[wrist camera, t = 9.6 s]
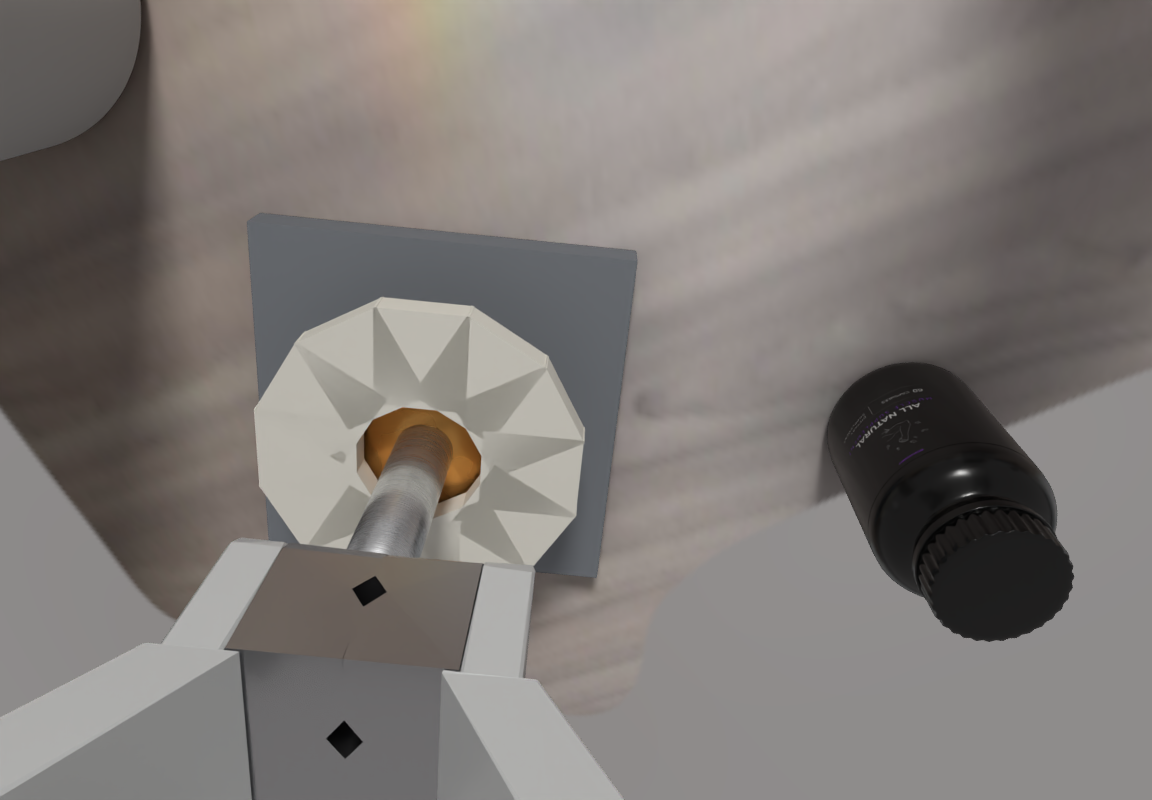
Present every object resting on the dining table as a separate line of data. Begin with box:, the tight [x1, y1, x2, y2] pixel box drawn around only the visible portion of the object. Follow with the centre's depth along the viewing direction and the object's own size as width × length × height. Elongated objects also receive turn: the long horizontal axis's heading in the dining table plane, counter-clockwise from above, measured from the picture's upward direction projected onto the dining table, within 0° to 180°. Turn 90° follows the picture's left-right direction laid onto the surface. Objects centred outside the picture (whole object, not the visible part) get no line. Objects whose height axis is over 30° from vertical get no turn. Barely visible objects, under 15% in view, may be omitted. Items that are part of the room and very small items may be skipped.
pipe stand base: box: [247, 213, 637, 578], centre depth 40 cm, size 16×16×2 cm
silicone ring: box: [254, 297, 585, 566], centre depth 35 cm, size 13×13×1 cm
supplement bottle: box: [827, 362, 1074, 642], centre depth 35 cm, size 7×7×12 cm
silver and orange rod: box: [347, 407, 481, 558], centre depth 33 cm, size 6×6×14 cm
